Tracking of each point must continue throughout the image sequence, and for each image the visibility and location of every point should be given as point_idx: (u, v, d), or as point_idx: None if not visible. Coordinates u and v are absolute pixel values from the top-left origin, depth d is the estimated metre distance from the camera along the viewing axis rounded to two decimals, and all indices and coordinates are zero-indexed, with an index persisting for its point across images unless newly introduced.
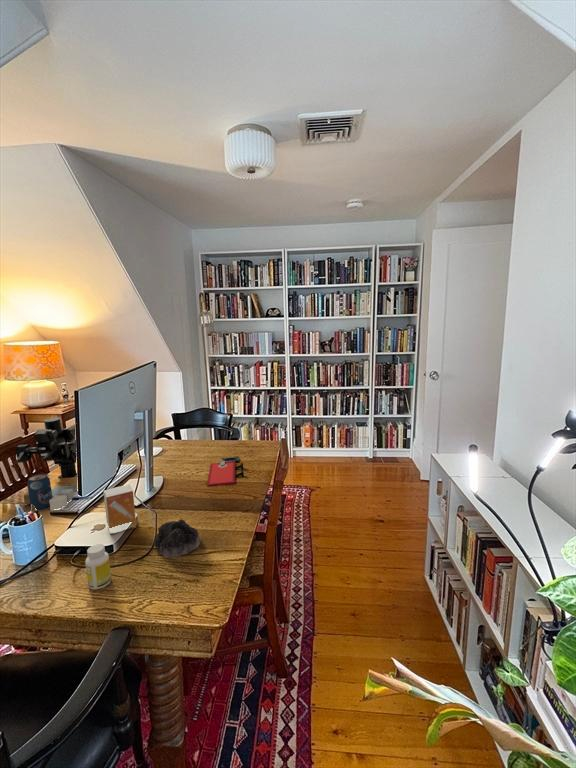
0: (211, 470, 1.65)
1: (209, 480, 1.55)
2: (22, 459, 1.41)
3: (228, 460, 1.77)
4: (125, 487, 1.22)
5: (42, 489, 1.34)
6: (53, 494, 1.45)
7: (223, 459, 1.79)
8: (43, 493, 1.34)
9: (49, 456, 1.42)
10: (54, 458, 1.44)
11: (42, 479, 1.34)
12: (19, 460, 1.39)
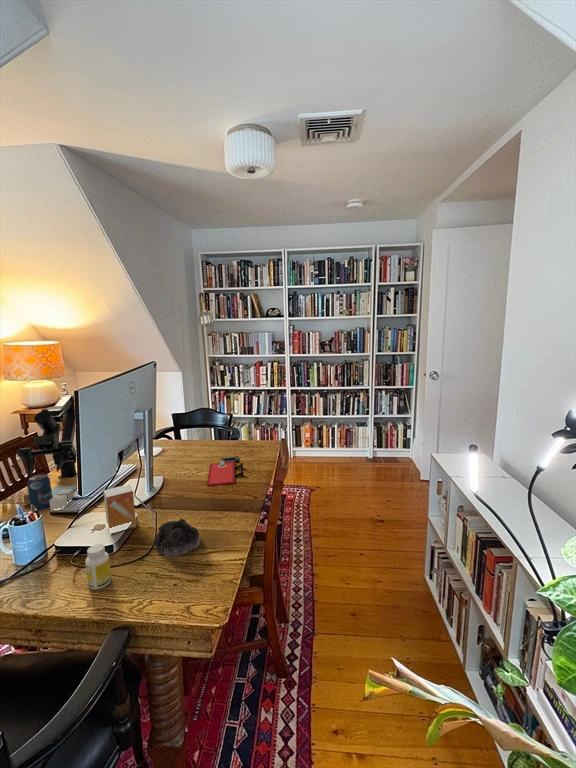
0: (211, 470, 1.65)
1: (209, 480, 1.55)
2: (31, 467, 1.41)
3: (227, 460, 1.78)
4: (125, 487, 1.22)
5: (42, 489, 1.34)
6: (53, 494, 1.45)
7: (222, 459, 1.79)
8: (43, 493, 1.34)
9: (60, 464, 1.43)
10: (64, 461, 1.45)
11: (42, 479, 1.34)
12: (30, 472, 1.40)
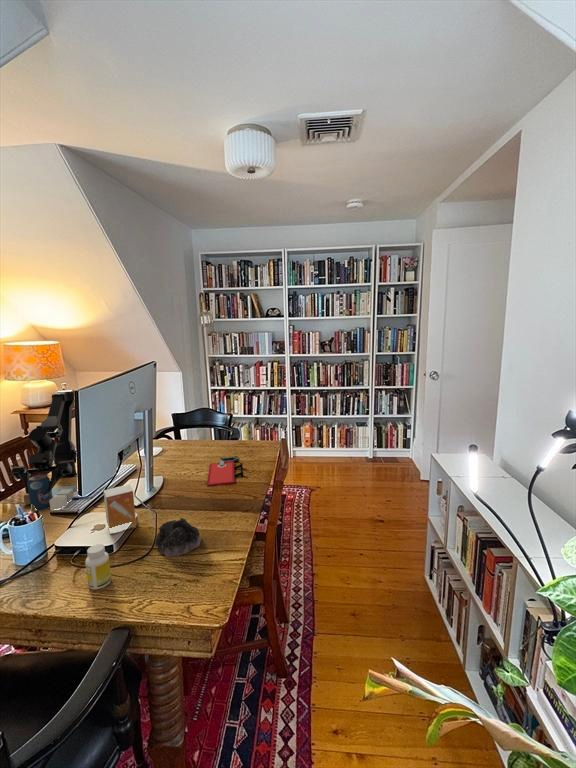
0: (210, 470, 1.65)
1: (209, 480, 1.55)
2: None
3: (227, 460, 1.78)
4: (125, 487, 1.22)
5: (42, 489, 1.34)
6: (53, 494, 1.45)
7: (222, 459, 1.79)
8: (43, 493, 1.34)
9: (53, 483, 1.37)
10: (57, 479, 1.40)
11: (42, 479, 1.34)
12: None
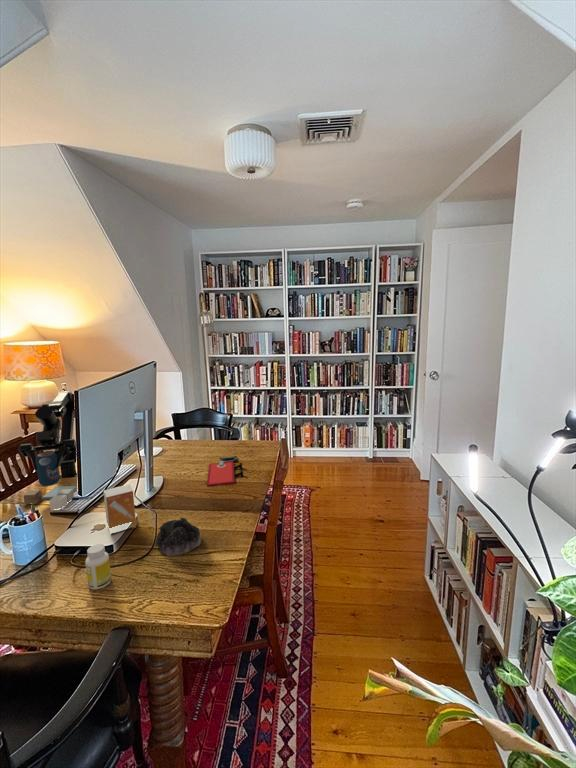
0: (210, 470, 1.65)
1: (209, 480, 1.55)
2: None
3: (226, 460, 1.78)
4: (125, 487, 1.22)
5: (51, 465, 1.38)
6: (53, 494, 1.45)
7: (221, 459, 1.79)
8: (51, 469, 1.38)
9: (60, 460, 1.41)
10: (64, 456, 1.44)
11: (50, 455, 1.38)
12: (36, 467, 1.38)
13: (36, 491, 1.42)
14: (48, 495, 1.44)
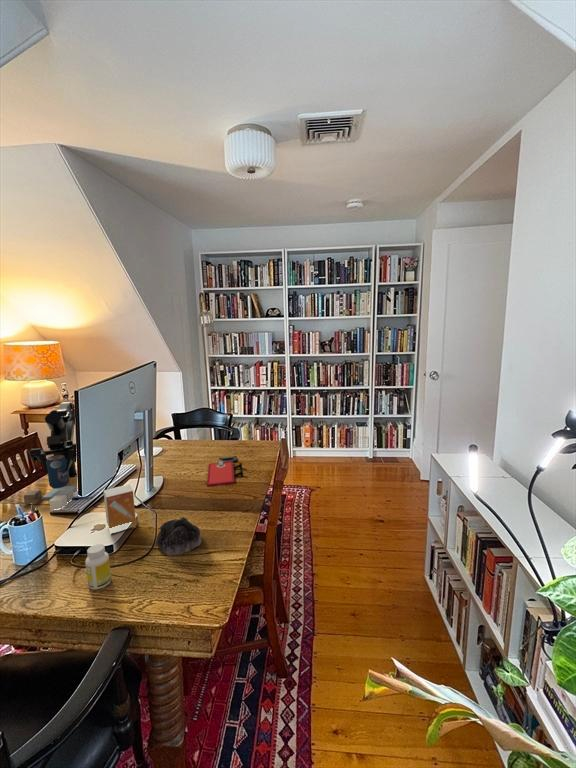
0: (210, 470, 1.65)
1: (209, 480, 1.55)
2: None
3: (226, 460, 1.78)
4: (125, 487, 1.22)
5: (62, 468, 1.45)
6: (53, 494, 1.45)
7: (221, 459, 1.79)
8: (62, 471, 1.45)
9: (70, 463, 1.48)
10: (72, 459, 1.51)
11: (61, 459, 1.45)
12: None
13: (36, 491, 1.42)
14: (48, 495, 1.44)
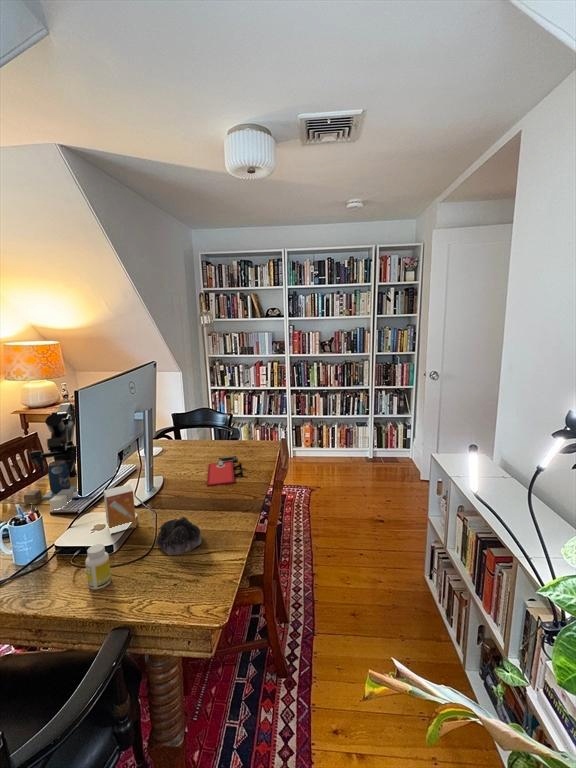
0: (209, 470, 1.65)
1: (208, 480, 1.55)
2: (44, 469, 1.45)
3: (226, 460, 1.78)
4: (125, 487, 1.22)
5: (63, 473, 1.45)
6: (53, 494, 1.45)
7: (220, 459, 1.79)
8: (63, 477, 1.45)
9: (73, 465, 1.48)
10: (75, 461, 1.51)
11: (62, 464, 1.45)
12: (44, 473, 1.44)
13: (36, 491, 1.42)
14: (48, 495, 1.44)
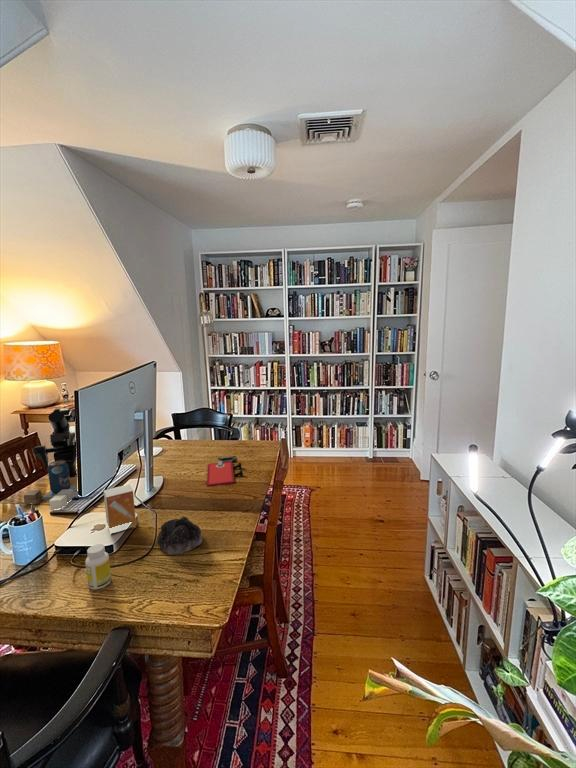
0: (209, 470, 1.65)
1: (208, 480, 1.55)
2: (47, 463, 1.51)
3: (225, 460, 1.78)
4: (125, 487, 1.22)
5: (63, 473, 1.45)
6: (53, 494, 1.45)
7: (219, 459, 1.79)
8: (63, 477, 1.45)
9: (75, 459, 1.54)
10: None
11: (62, 464, 1.45)
12: (47, 467, 1.49)
13: (36, 491, 1.42)
14: (48, 495, 1.44)
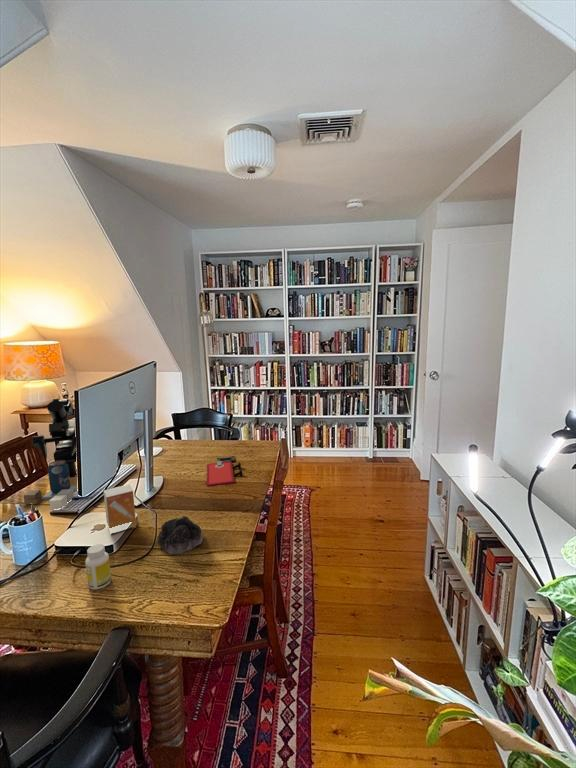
0: (209, 470, 1.65)
1: (208, 480, 1.55)
2: (46, 453, 1.50)
3: (224, 460, 1.78)
4: (125, 487, 1.22)
5: (63, 473, 1.45)
6: (53, 494, 1.45)
7: (219, 459, 1.79)
8: (63, 477, 1.45)
9: (74, 449, 1.53)
10: None
11: (62, 464, 1.45)
12: (46, 457, 1.49)
13: (36, 491, 1.42)
14: (48, 495, 1.44)
